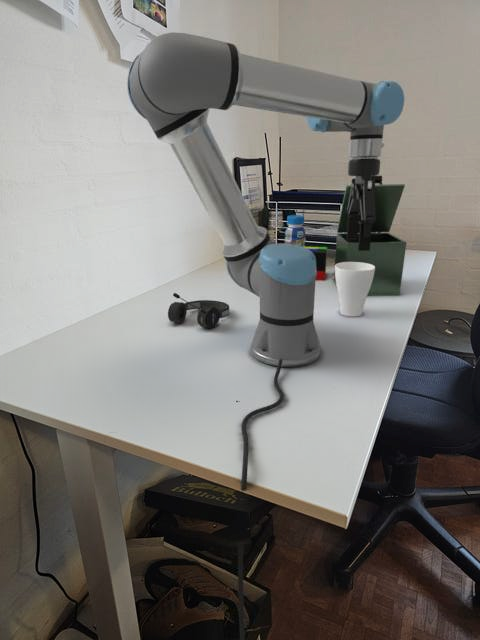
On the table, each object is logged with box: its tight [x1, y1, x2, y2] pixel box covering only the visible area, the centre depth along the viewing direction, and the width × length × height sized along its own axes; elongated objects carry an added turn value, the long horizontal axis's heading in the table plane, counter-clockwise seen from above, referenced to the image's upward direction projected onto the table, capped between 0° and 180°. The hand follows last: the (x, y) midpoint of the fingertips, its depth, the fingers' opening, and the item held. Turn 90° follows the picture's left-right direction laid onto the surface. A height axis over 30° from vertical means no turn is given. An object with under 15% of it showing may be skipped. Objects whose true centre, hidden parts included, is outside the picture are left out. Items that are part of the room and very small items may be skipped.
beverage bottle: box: [284, 214, 306, 247], centre depth 163 cm, size 8×8×20 cm
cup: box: [334, 262, 375, 318], centre depth 110 cm, size 10×10×14 cm
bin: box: [333, 232, 407, 296], centre depth 132 cm, size 18×18×17 cm
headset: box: [167, 292, 230, 329], centre depth 108 cm, size 14×10×20 cm
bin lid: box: [336, 175, 406, 234], centre depth 132 cm, size 18×18×8 cm
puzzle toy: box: [305, 246, 328, 281], centre depth 148 cm, size 10×10×10 cm
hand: (357, 245), depth 106 cm, fingers open, 13 cm apart
